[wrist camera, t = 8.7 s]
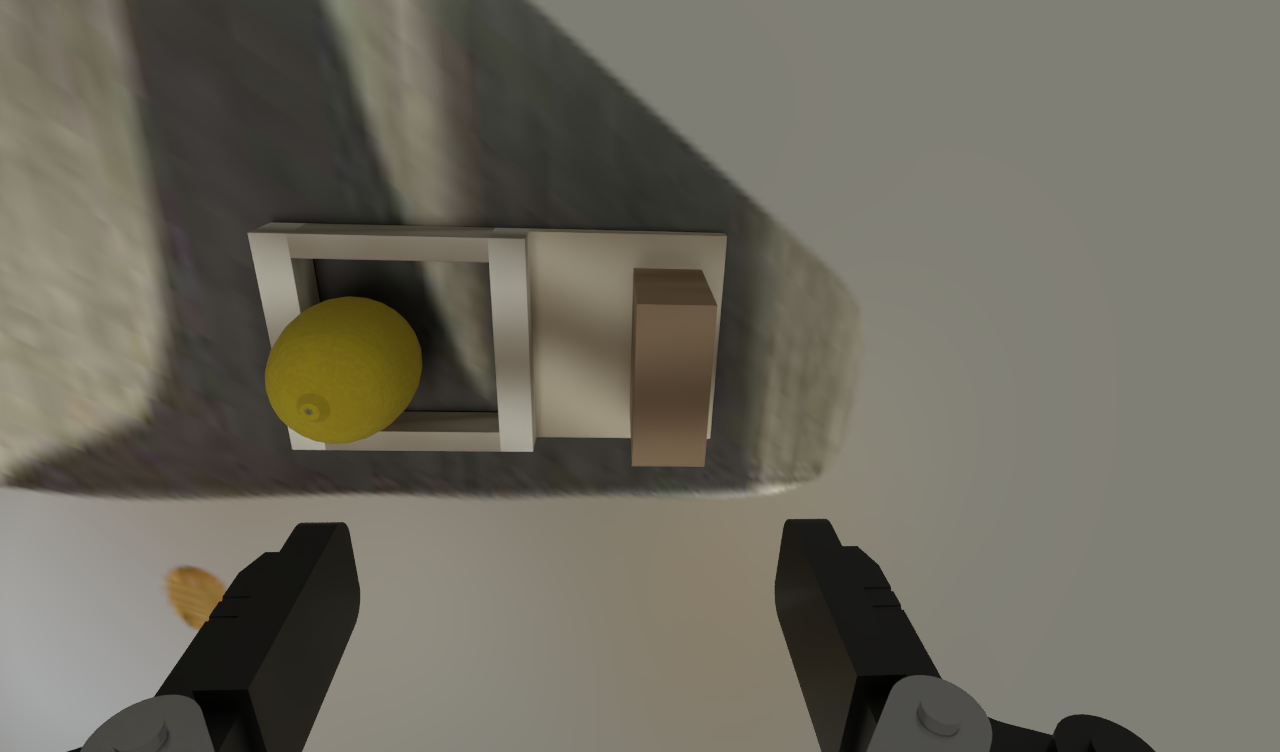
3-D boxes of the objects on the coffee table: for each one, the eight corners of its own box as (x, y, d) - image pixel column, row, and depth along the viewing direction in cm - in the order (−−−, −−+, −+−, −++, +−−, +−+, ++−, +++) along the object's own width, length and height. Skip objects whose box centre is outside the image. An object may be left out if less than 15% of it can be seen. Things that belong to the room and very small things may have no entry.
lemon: (450, 293, 31) (399, 363, 23) (429, 399, 33) (376, 494, 25) (324, 259, 30) (231, 321, 22) (311, 370, 32) (222, 460, 25)
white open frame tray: (270, 222, 29) (197, 255, 24) (724, 232, 30) (747, 266, 25) (310, 428, 33) (254, 494, 28) (708, 432, 34) (725, 497, 29)
